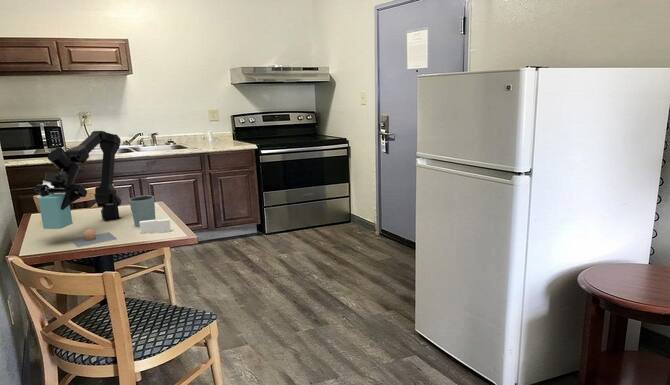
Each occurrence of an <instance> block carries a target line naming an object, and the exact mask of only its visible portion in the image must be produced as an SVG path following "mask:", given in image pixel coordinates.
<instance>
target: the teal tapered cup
mask: <svg viewBox="0 0 670 385" xmlns="http://www.w3.org/2000/svg"><path fill="white" fill-rule="evenodd" d="M155 201H156V200H155V196H154V195H146V194H145V195H139V196H134V197H131V198H129V199H128V202H129V206H130V210H131V214H132V218H133V223H134V226H135V227H137V228H138V227H139V228H140V224H139V222H140V221H147V220H155V219H156V208H155V207H156V205H155Z"/></svg>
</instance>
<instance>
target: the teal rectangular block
mask: <svg viewBox="0 0 670 385" xmlns="http://www.w3.org/2000/svg"><path fill="white" fill-rule="evenodd" d="M64 198H65V194H51V195H47V196H44V197H41V198H39V197H38V198H37V200H38V205H39V211H40V216H41V221H42V227H43V228H42V229H43V230H61V229H64V228H66V227H68V226H71V225H73V224H74V223H73V217H72V213H71V210H72V209H71V204H70V205H69V206H67V207H66V208H65V209H64V210H62V209H61V205H62V203H63V200H64Z"/></svg>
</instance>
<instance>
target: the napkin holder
mask: <svg viewBox="0 0 670 385" xmlns="http://www.w3.org/2000/svg"><path fill="white" fill-rule="evenodd" d="M139 224H140V227H139V229H140V230H139V231H140V234H148V233H149V234H153V233H154V234H155V233H158V234H159V233H167V232H168V233H169V232H171V230H172V229H171V221H170V218H163V219H158V218H155V220H147V221H140V222H139Z"/></svg>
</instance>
